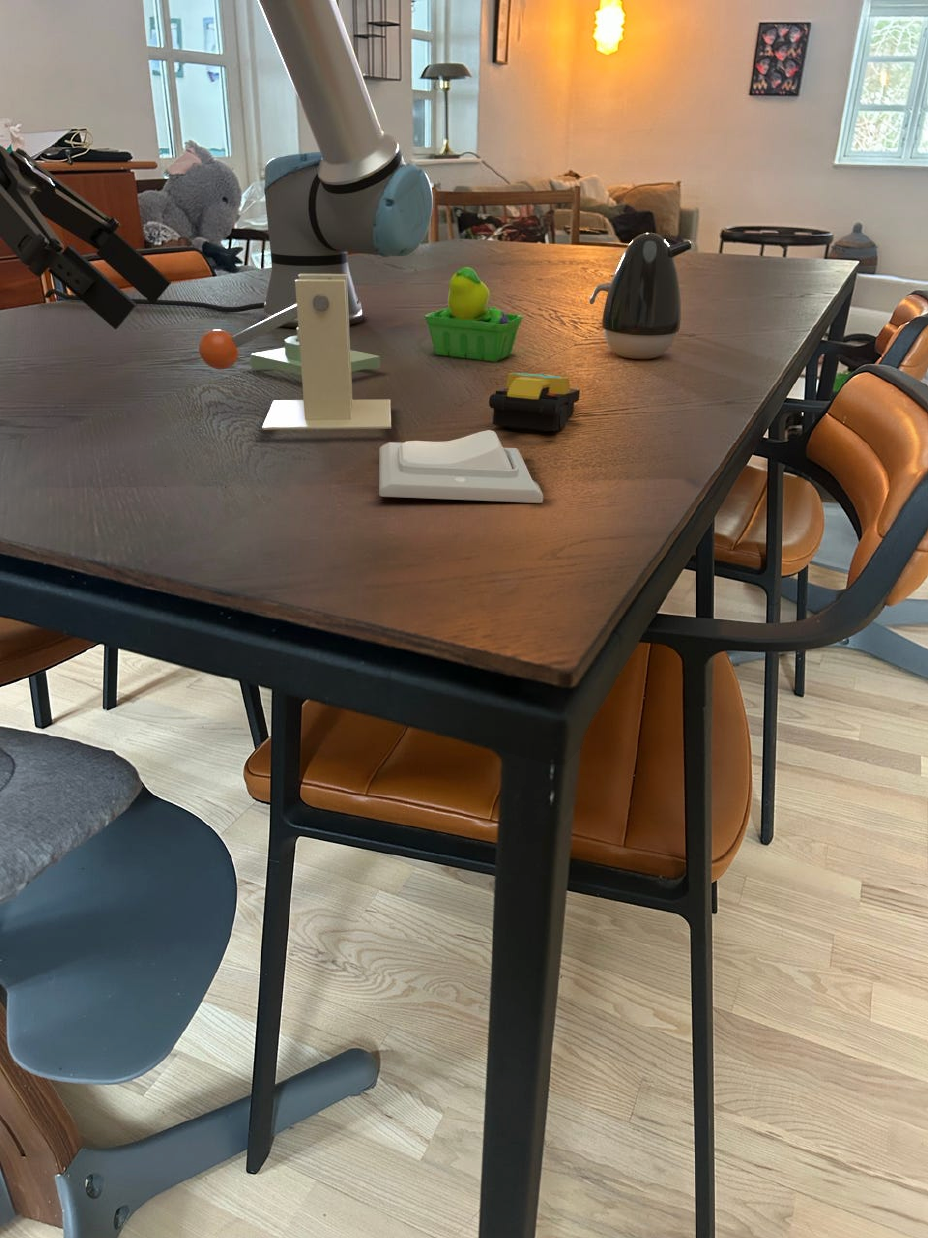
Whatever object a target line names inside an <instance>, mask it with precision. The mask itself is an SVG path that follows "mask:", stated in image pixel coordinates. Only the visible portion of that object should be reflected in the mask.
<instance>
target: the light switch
mask: <svg viewBox="0 0 928 1238" xmlns="http://www.w3.org/2000/svg"><path fill="white" fill-rule="evenodd" d="M378 463H379V464H378V495H379V496H380V497H384V498H407V499H408V498H409V499H412V498H413V499H430V500H431V499H433V500H434V499H435V500H458V501H459V500H460V501H462V500H463V501H484V502H506V503H508V502H509V503H514V502H515V503H532V504H534V503H535V504H542V503H543V502H544V493H543V492H542V489H541V487H540V485H539V483H538V481H537V480H536V479H533V478H532V477H531V474H530V472H529V470H528V467H527V465H526V463H525V461H524V458H523V456H522V455H521V452H520V450H519V448H517V447H503V445H502V443H501V440H500V438H499V437H498V434H497V433H496V432H495V431H494V430H491V429H487V430H482V431H479V432H475V433H472V434H469V435H466V436H463V437H460V438H457V439H452V440H448V441H426V440H425V441H423V440H409V441H404V442H394V441H393V442H392V441H390V442H387V443H384V444H382V445H381V446H380V447H379V449H378Z"/></svg>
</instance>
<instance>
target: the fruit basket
mask: <svg viewBox="0 0 928 1238" xmlns="http://www.w3.org/2000/svg"><path fill="white" fill-rule="evenodd" d="M447 296H448V297H447V306H448V307H447V308H442V309H439V310H437V311H433V312H430V313H427V314H425V315H424V318H425V322H426V324H427V325H428V329H429V334H430V337H431V338H430V339H431V341H432V347H433V350H434V354H435V355H437V356H444V357H445V356H446V357H447V356H449V357H453V358H462V359H470V360H478V361H485V362H496V363H497V362H498V361H500V360H503V359H505V358H507V357H508V356H510V355H512V352H513V349H514V345H515V342H516V338H517V334H518V331H519V327H520V325H521V323H522V321H523V318H524V317H523V315H521V314H517V313H516V314H514V313H507V312H506V313H504V311H502V310H501V309H498V308H497V307H496V306H495V305H494V306H491V307H490V308H488V305H489V301H490V296H491V291H490V290H489V288H488V287H487V285H486V284H485V283H484V282H483V281H482V280H481V279H480V278H479V277H478V274H477V273H476V271H475V270H474V269H473V268H472V267H469V266H464V267H462V268H461V269H460V270H457V271H456V272H455V273H454V274H453V275H452V276H451V278H450V280H449V291H448V295H447Z"/></svg>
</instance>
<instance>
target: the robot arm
mask: <svg viewBox="0 0 928 1238" xmlns="http://www.w3.org/2000/svg"><path fill="white" fill-rule="evenodd" d="M257 1H258V4H259V6H260V9H261V11H262V14H263V16H264V19H265V21H266V24H267V26H268V28H269V31H270V33H271V35H272V39H273V40H274V43H275V46H276V47H277V50H278V52H279V55H280V58H281V60H282V62H283V65H284V67H285V71H286V72H287V75H288V77H289V79H290V82H291V84H292V87H293V89H294V91H295V94H296V97H297V99H298V101H299V103H300V106H301V108H302V111H303V113H304V116H305V118H306V121H307V123H308V126H309V128H310V130H311V133H312V135H313V137H314V140H315V142H316V145H317V148H318V149H319V151H315V152H314V151H313V152H306V153H294V154H287V155H281V156H277V157H274V158H272V159H269V160H268V162H267V163H266V164H265V166H264V187H263V193H264V194H263V195H264V200H265V211H266V212H265V213H266V221H267V232H268V241H269V251H270V260H271V262H270V263H271V271H270V275H269V280H268V286H267V291H266V297H265V301H264V302H258V303H249V304H245V305H239V306H224V305H218V304H213V303H209V302H208V303H207V302H200V301H191V300H190V301H189V300H173V299H159V298H160V297H161V296H162V295H163V294H164V293H165V292H166V290H167V289H168V288H169V286H170V285H171V284H172V282H171V280H169V278H168V277H166V276H165V275H164V274H163V273H162V272H160V271H159V270H158V269H157V268H156V267H155V266H154V265H153V264H152V263H151V262H150V261H149V260H148V259H147V258H145V257H144V256H143V255H142V254H141V253H140V252H139V251H138V250H137V249H136V248H134V246H133V245H131V244H130V243H129V242H128V241H127V240H126V239H125V238H124V237H123V236H121V234H119V233H118V232H117V230H118V229H119V227H120V226H121V223H120V221H118V220H117V219H116V218H115V217H113V216H112V217H110V216H108V215H106V214H105V213H103V212H102V210H99V209H98V207H96V206H94V205H93V204H92V203H90V202H89V201H88V200H86V198H83V196H81V195H80V194H79V193H78V192H76V191H74V190H73V189H71V188H70V187H69V186H68V185H67V184H65V183H64V182H62V181H61V180H60V179H58V178H57V177H56V176H54V175H53V174H52V173H51V172H50V171H48V170H46V169H45V168H44V167H43V166H42V165H40V163H38V162H37V161H36V160H35V159H34V158H33V157H31V156H30V155H29V154H28V153H27V151H25V150H24V149H22V148H20V147H17V148H16V150H11V151H9V150H8V149H6V148H5V147H4V146H2V145H0V238H1V240H2V241H3V242H4V243H5V244H6V245H7V247H8V248H9V249H10V250H11V251H12V252H13V254H14V255H15V256H16V257H17V258H18V260H20V262H21V263H22V264H24V265H25V266H28V268H27V269H28V270H29V271H30V272H31V274H33V275H35V276H37V277H38V278H41V277H43V275H44V274H45V272H46V271H47V270H48V271H47V272H48V273H49V274H51V276H53V277H54V278H55V279H56V280H58V281H59V282H60V283H61V284H62V285H63V286H64V287H65V288H67V289H68V290H69V291H70V292H71V293H72V294H69V293H65V292H63V291H61V290H59V289H57V288H49V289H48V291H46V293H45V294H44V296H43V298H44V299H50V298H51V297H52V295H56V296H58V297H60V298H61V299H64V300H69V301H70V300H71V301H79V302H83V303H84V304H85V305H87V306H88V307H89V308H90V309H91V310H92V311H93V312H95V314H96V315H98V316H99V317H100V318H102V319H103V320H104V321H105V322H106V323H107V324H108V325H110V326H111V327H112V328H113V329H114V330H118V328H119V327H120V326H121V325H122V324H123V322H124V321H125V320H126V319H127V318H128V316H129V315H130V314H131V313H132V312H133V310H134V309H135V308H136V307H137V305H152V306H172V307H173V306H174V307H190V308H200V309H201V308H202V309H207V310H212V311H217V312H223V313H241V312H247V311H253V310H259V309H262V311H263V321H264V320H266V319H268V318H270V317H272V316H274V315H276V314H278V313H280V312H282V311H284V310H286V309H288V308H290V307H292V306H294V305H296V304H297V302H296V289H295V280H296V279H299V274H347V292H348V314H349V326H350V325H355V324H358V323H360V322H361V321H362V320H363V309H362V304H361V301H360V300H358V294H357V290H356V287H355V284H354V281H353V278H352V275H351V272H350V267H349V256H348V255H349V254H348V253H353V254H363V255H374V256H379V257H381V258H389V257H404V256H405V257H406V256H408V255H410V254H412V253H413V252H415V251H416V250H417V249H418V248H419V247H420V245H421V244H422V243H423V241H424V240H425V238H426V236H427V233H428V231H429V228H430V225H431V219H432V216H433V208H434V205H433V204H434V197H433V196H434V195H433V189H432V185H431V181H430V179H429V176H428V174H427V173H426V172H425V171H424V170H423V168H419V166H418V165H416V164H414V163H411V164H410V163H406V162H405V160H404V156H403V153H402V151H401V148H400V145H399V143H398V140H397V139H396V138H395V136H393V135H392V134H390V133H387V132H385V131H383V130H382V128H381V125H380V122H379V119H378V117H377V114H376V110H375V108H374V105H373V103H372V100H371V97H370V94H369V91H368V88H367V85H366V82H365V79H364V76H363V74H362V70H361V68H360V65H359V62H358V60H357V57H356V54H355V51H354V48H353V44H352V43H351V39H350V36H349V34H348V31H347V28H346V25H345V22H344V20H343V17H342V14H341V11H340V9H339V8H340V7H339V6H338V2H337V0H257ZM47 219H48V220H49V221H51V222H53V223H54V224H56V225H57V226H59V227H61V228H62V229H64V230H65V231H67V232H69V233H70V234H72V235H74V236H75V237H77V238H79V239H80V240H82V241H83V242H85V243H86V244H88V245H89V246H91V247H93V248H94V249H96V250H98V251H96V253H95V254H96V255H97V256H98V257H100V259H102V260H103V261H104V262H105V263H106V264H107V265H108V266H109V267H111V268H112V269H113V270H114V271H115V272H116V273H117V274H118V275H119V276H120V277H121V278H123V279H124V280H125V281H126V282H127V283H129V285H131V286H132V287H133V288H134V289H135V290H136V291H137V292H138V293H140V294H141V295H142V296H143V297H144V298H131V297H129V296H128V294H126V293H125V292H124V291H123V290H122V289H120V288H119V286H117V285H116V284H115V283H114V282H112V281H111V279H109V278H108V277H107V276H106V275H105V274H104V273H103V272H101V270H99V269H98V268H97V267H96V266H95V265H94V264H92V262H90V261H89V260H88V259H86V258H85V257H84V256H83V255H82V254H81V253H80V252H79V251H78V250H76V248H75V247H73V246H72V245H67V246H66V248H65V249H64V243H62V241H61V239H59V237H58V235H57V234H56V233H55V231H54V230H53V228H52V227H51V226H50V224H49V223H48V221H47ZM63 249H64V250H63ZM48 268H49V269H48ZM281 327H283V328H284V327H285V328H295V329H297V328H298V318H296V319H294V320H292V321H290V322H288V323H286V324H284V325H282V326H281Z"/></svg>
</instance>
